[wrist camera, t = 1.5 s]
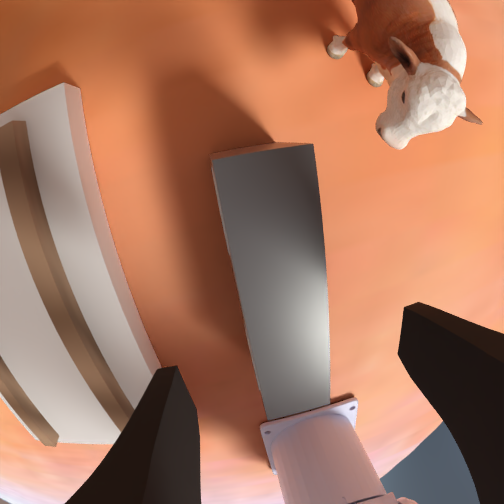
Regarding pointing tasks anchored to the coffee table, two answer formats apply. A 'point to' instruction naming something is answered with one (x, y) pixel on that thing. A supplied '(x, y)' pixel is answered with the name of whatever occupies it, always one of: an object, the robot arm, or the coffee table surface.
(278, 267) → the grey rectangular block
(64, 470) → the coffee table surface
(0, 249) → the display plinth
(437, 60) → the bull figurine
